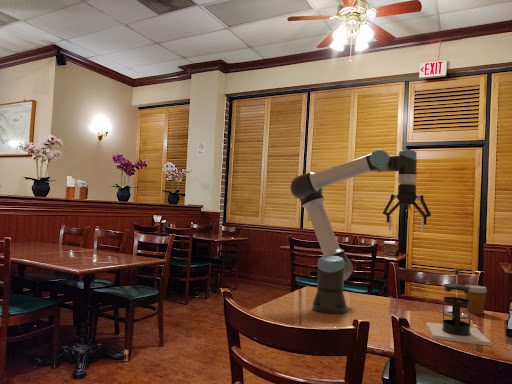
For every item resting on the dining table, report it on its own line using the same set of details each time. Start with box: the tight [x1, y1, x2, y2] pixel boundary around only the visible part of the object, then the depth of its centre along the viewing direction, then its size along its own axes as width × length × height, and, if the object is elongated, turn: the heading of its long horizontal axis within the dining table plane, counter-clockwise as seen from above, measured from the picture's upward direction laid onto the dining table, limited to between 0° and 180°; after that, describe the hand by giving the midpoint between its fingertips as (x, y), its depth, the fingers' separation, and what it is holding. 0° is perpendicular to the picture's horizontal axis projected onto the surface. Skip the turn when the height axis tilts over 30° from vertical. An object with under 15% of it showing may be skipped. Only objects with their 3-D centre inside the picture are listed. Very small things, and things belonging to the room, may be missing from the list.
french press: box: [442, 268, 471, 336], centre depth 143 cm, size 12×9×23 cm
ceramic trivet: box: [425, 321, 491, 347], centre depth 143 cm, size 18×18×1 cm
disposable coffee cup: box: [464, 284, 488, 315], centre depth 181 cm, size 10×10×12 cm
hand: (405, 231), depth 173 cm, fingers open, 13 cm apart
